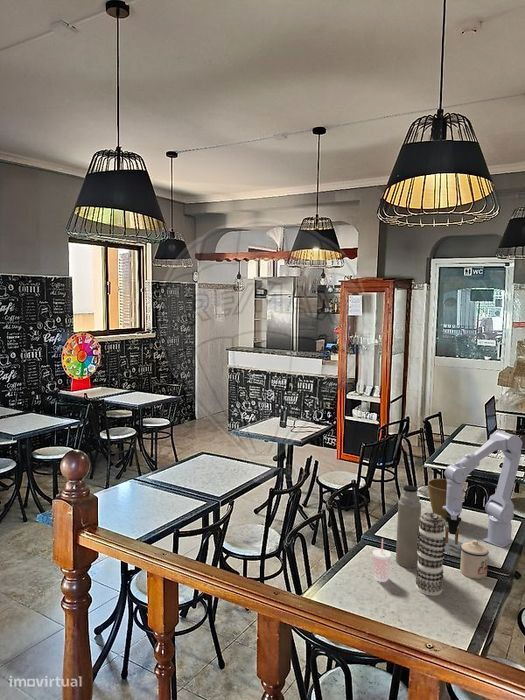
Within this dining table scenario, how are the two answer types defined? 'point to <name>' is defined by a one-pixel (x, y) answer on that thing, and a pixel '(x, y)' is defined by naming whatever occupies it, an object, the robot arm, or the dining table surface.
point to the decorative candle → (430, 554)
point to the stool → (448, 531)
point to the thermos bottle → (408, 527)
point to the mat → (453, 547)
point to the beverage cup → (381, 564)
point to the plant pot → (438, 496)
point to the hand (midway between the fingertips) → (452, 531)
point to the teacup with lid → (474, 559)
